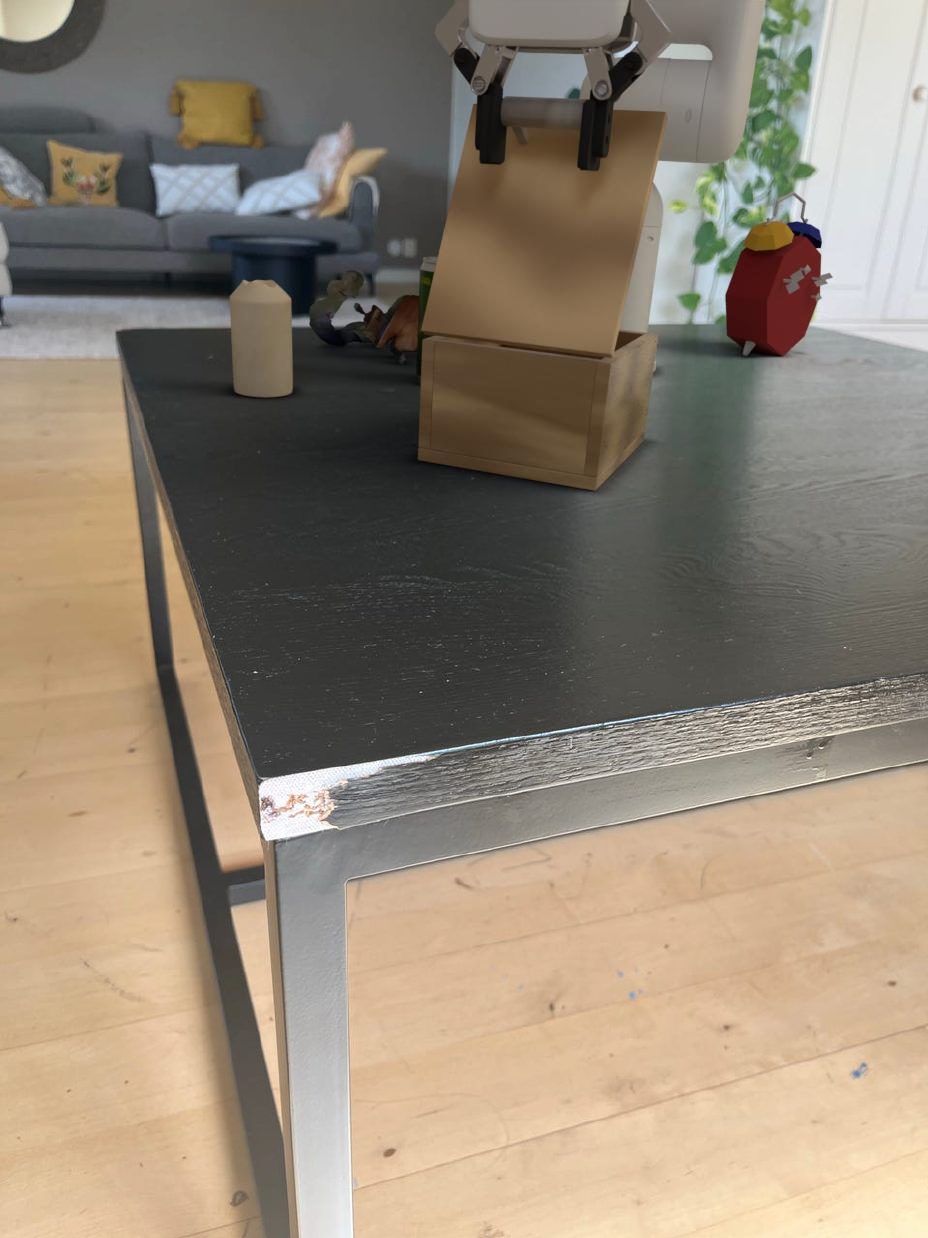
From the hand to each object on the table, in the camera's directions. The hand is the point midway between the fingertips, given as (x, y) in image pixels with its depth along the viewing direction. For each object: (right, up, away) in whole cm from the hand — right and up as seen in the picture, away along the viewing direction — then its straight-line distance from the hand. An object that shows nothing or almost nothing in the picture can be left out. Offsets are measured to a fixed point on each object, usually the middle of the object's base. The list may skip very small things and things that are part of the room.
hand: (539, 164), depth 63 cm
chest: (+1, -17, +14) cm, 22 cm away
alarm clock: (+36, +5, +65) cm, 75 cm away
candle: (-24, -9, +27) cm, 37 cm away
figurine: (-15, +1, +48) cm, 50 cm away
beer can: (-7, -6, +36) cm, 37 cm away
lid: (0, -3, +3) cm, 5 cm away
